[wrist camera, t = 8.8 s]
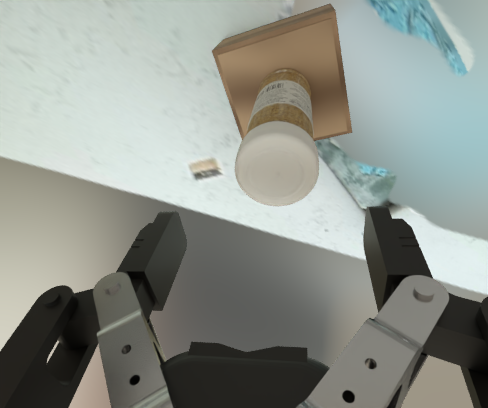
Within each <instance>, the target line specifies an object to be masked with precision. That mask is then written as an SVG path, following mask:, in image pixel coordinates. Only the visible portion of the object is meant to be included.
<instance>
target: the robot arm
mask: <svg viewBox="0 0 488 408" xmlns="http://www.w3.org/2000/svg"><path fill="white" fill-rule="evenodd" d="M363 241H364V251H365V255H366V260H367V264H368V268H369V273H370V278H371V282H372V286H373V291H374V295H375V300H376V304H377V309H378V314H377V316H376V317H375V318H374V319H371V318H369V319H367V320H366V321H365V322H364V324H363V325H362V326H361V328H360V329H359V330H358V332H357V333H356V334H355V336H354V337H353V338H352V340H351V341H350V342H349V343H348V345H347V346H346V347H345V349H344V350H343V352H342V353H341V354H340V355H339V357H338V358H337V360H336V361H335V362H334V363H333V365H332V366H331V367H330V368H329V367H328V366H326V365H324V364H323V363H321V362H319V361H317V360H315V359H312V358H309V357H307V348H300V347H280V346H278V347H272V348H266V349H262V350H256V351H251V352H244V351H240V350H237V349H234V348H231V347H228V346H225V345H222V344H219V343H203V342H191V345H190V349H189V351H187V352H184V353H181V354H178V355H176V356H174V357H172V358H170V359H169V360H166V358H165V356H164V353H163V351H162V348H161V346H160V343H159V340H158V337H157V335H156V333H155V330H154V327H153V324H152V322H151V319H150V314H151V312H152V310H155V311H162V310H163V307H164V305H165V302H166V300H167V297H168V295H169V292H170V290H171V287H172V284H173V282H174V279H175V277H176V274H177V272H178V269H179V267H180V264H181V261H182V259H183V256H184V254H185V251H186V247H187V239H186V235H185V232H184V229H183V226H182V223H181V220H180V217H179V214H178V212H160V213H158V215H157V217H156V219H155V220H154V222H153V223H149V224H148V225H147V226H145V227H144V228H143V229H142V230H141V231H140V232H139V234H138V236H137V237H136V239H135V241H134V242H133V244H132V246H131V248H130V250H129V251H128V253H127V255H126V256H125V258H124V259H123V261H122V263H121V265H120V267H119V268H118V270H117V271H116V273H112V274H109V275H107V276H105V277H104V278H102V279H101V280H100V281H99V282H98V283H97V284H96V285H95V287H94V289H90V290H86V291H82V292H79V293H73V291H72V289H71V288H70V287H68V286H63V285H62V286H57V287H54V288H51V289H50V290H48V291H46V292H45V293H43V294H42V295H41V296H40V297H39V298H38V299H37V300H36V302H35V303H34V305H33V306H32V307H31V309H30V310H29V312H28V313H27V314H26V316H25V317H24V319H23V320H22V322H21V323H20V324H19V326H18V327H17V329H16V330H15V331H14V333H13V334H12V336H11V337H10V339H9V340H8V341H7V343H6V344H5V346H4V347H3V348H2V350H1V351H0V408H68V407H69V405H70V403H71V401H72V399H73V397H74V394H75V392H76V390H77V388H78V386H79V384H80V382H81V379H82V377H83V375H84V373H85V371H86V368H87V366H88V364H89V362H90V360H91V358H92V356H93V354H94V351H95V349H96V347H97V345H98V343H99V348H100V353H101V358H102V363H103V368H104V373H105V378H106V383H107V388H108V393H109V398H110V403H111V408H401V406H402V404H403V401H404V399H405V397H406V395H407V393H408V391H409V389H410V388H411V386H412V384H413V382H414V381H415V379H416V377H417V375H418V373H419V371H420V370H421V368H422V366H423V364H424V363H425V361H426V359H427V357H428V355H430V356H433V357H436V358H439V359H442V360H445V361H448V362H451V363H454V364H457V365H460V366H461V370H462V373H463V376H464V379H465V382H466V385H467V388H468V391H469V394H470V397H471V400H472V403H473V406H474V408H488V297H487V298H485V299H484V300H483V301H482V303H480V302H476V301H472V300H469V299H465V298H461V297H458V296H455V295H453V294H450V293H448V292H447V290H446V288H445V287H444V286H443V285H442V284H440V283H439V282H438V281H436V280H434V279H433V277H432V275H431V272H430V270H429V268H428V265H427V263H426V260H425V258H424V256H423V253H422V251H421V249H420V247H419V244H418V241H417V239H416V237H415V234H414V232H413V230H412V227H411V226H410V225H408V224H407V223H406V222H405V221H404V220H403V219H392V217H391V214H390V212H389V209H388V207H387V206H376V207H367V209H366V216H365V226H364V237H363ZM57 340H58V341H59V343H58V345H57V347H56V349H55V351H54V353H53V354H52V356H51V358H50V359H49V361H48V363H47V358H48V356H49V354H50V352H51V351H52V349H53V347H54V345H55V344H56V342H57ZM46 364H47V365H46Z"/></svg>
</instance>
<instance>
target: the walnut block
mask: <svg viewBox="0 0 488 408" xmlns="http://www.w3.org/2000/svg"><path fill="white" fill-rule="evenodd" d="M212 53H213V56H214V58H215V61H216V64H217V67H218V70H219V73H220V76H221V79H222V82H223V85H224V88H225V91H226V94H227V97H228V99H229V102H230V105H231V108H232V111H233V114H234V117H235V120H236V123H237V126H238V129H239V132H240V135H241V138H242V140H243V139H244V137H245V136H246V135H247V127H248V123H249V120H250V117H251V114H252V110H253V107H254V104H255V101H256V98H257V96H258V91H259V88H260V86H261V83H262V81H263V80H264V79H265V78H266V77H267V75H269V74H270V73H272V72H274V71H276V70H280V69H292V70H295V71H297V72H299V73H300V74H302V75H303V76H304V77H305V78H306V80H307V81H308V83H309V86H310V90H311V98H310V100H311V107H312V120H313V132H314V136H313V140H314V141H316V140H320V139H325V138H329V137H334V136H338V135H343V134H347V133H352V128H351V121H350V114H349V106H348V99H347V92H346V85H345V77H344V70H343V63H342V56H341V48H340V41H339V34H338V27H337V20H336V13H335V9H334V8H333V7H332V5H331V4H327V5H324V6H322V7H319V8H315V9H313V10H310V11H307V12H304V13H301V14H298V15H295V16H292V17H289V18H286V19H283V20H280V21H277V22H274V23H271V24H268V25H265V26H262V27H259V28H256V29H253V30H250V31H247V32H244V33H241V34H238V35H235V36H233V37H230V38H227V39H224V40H222V41H221V42H220V43H219V44H218V45H217V46H216V47H215V48H214V49H213V50H212Z"/></svg>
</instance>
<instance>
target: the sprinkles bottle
mask: <svg viewBox="0 0 488 408" xmlns="http://www.w3.org/2000/svg"><path fill="white" fill-rule="evenodd" d="M310 98H311V90H310V86H309V83H308V81H307V80H306V78H305V77H304V76H303V75H302V74H300V73H299V72H297V71H295V70H292V69H280V70H276V71H274V72H272V73H270V74H269V75H267V77H266V78H265V79H264V80H263V81H262V83H261V86H260V88H259V91H258V96H257V98H256V101H255V104H254V107H253V110H252V114H251V117H250V120H249V123H248V127H247V135H246V136H245V137H244V139H243V140H242V142H241V144H240V147H239V150H238V154H237V157H236V162H235V175H236V179H237V181H238V184H239V185H240V187H241V189H242V190H243V191H244V192H245V193H246V194H247V195H248V196H249V197H250V198H252V199H253V200H255V201H257V202H259V203H262V204H265V205H270V206H284V205H289V204H293V203H295V202H297V201H299V200H301V199H303V198H304V197H305V196H307V195H308V194H309V193H310V192H311V190H312V189H313V187H314V186H315V184H316V181H317V179H318V174H319V160H318V151H317V147H316V145H315V143H314V140H313V136H314V132H313V120H312V107H311V100H310Z"/></svg>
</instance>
